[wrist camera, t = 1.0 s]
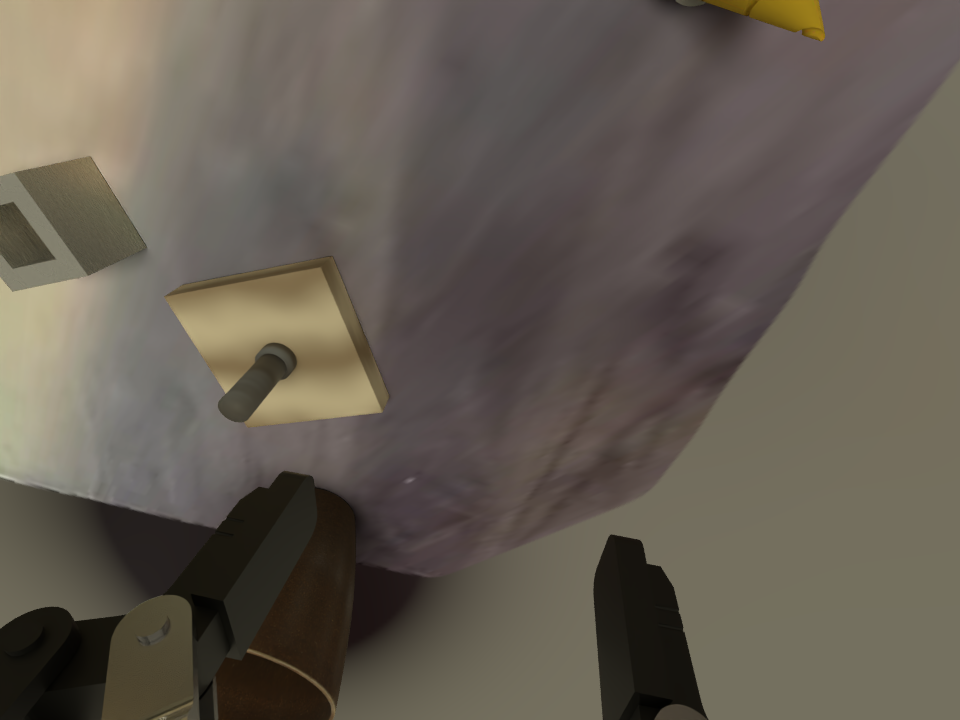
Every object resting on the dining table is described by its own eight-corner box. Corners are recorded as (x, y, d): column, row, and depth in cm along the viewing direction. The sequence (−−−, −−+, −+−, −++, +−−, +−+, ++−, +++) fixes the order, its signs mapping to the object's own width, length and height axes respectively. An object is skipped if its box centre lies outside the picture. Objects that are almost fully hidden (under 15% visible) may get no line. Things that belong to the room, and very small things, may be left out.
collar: (17, 176, 30) (-68, 195, 26) (89, 156, 28) (13, 172, 24) (78, 262, 33) (12, 291, 29) (146, 247, 32) (88, 275, 27)
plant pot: (263, 434, 41) (131, 615, 27) (415, 497, 43) (361, 690, 30) (235, 522, 48) (122, 696, 35) (365, 571, 51) (304, 750, 38)
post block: (182, 284, 33) (93, 341, 26) (332, 255, 31) (275, 310, 24) (259, 412, 39) (203, 483, 32) (389, 396, 37) (357, 470, 30)
